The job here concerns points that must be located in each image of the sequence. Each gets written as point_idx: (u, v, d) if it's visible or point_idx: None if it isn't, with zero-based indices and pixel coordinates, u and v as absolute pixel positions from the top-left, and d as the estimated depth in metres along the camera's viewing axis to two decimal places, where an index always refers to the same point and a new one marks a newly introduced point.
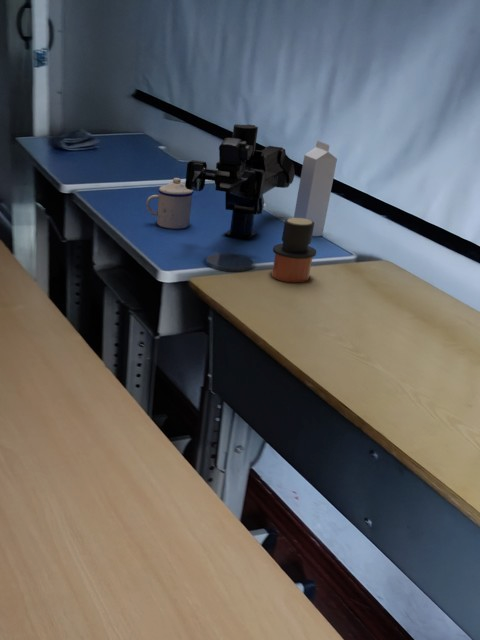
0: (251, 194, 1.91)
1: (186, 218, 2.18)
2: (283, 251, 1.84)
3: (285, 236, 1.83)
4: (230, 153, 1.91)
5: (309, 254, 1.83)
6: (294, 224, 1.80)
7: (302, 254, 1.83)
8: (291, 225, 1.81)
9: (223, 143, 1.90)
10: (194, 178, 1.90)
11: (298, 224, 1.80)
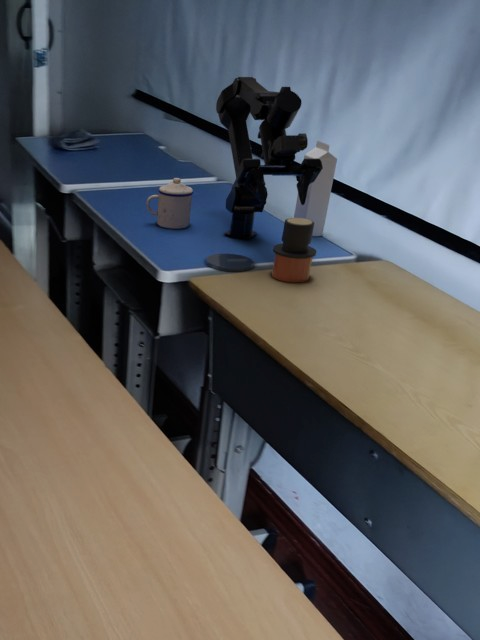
0: (308, 183, 1.91)
1: (186, 217, 2.18)
2: (283, 251, 1.84)
3: (285, 236, 1.83)
4: (288, 151, 1.84)
5: (309, 254, 1.83)
6: (294, 224, 1.80)
7: (302, 254, 1.83)
8: (291, 225, 1.81)
9: (284, 148, 1.81)
10: (264, 195, 1.86)
11: (298, 224, 1.80)
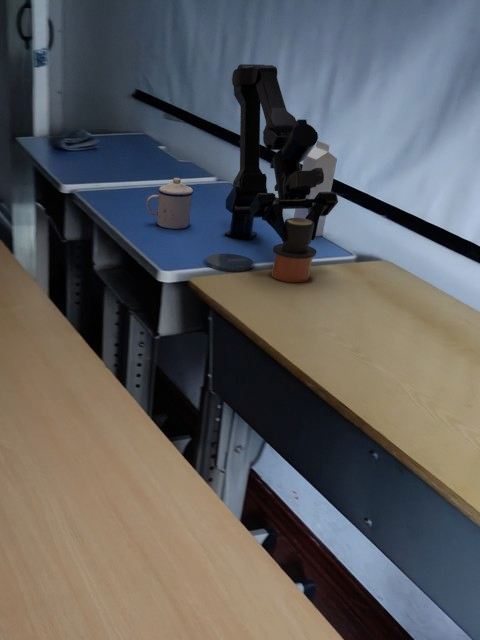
0: None
1: (186, 218, 2.18)
2: (283, 251, 1.84)
3: None
4: (304, 186, 1.79)
5: (309, 254, 1.83)
6: (294, 224, 1.80)
7: (302, 254, 1.83)
8: (291, 225, 1.81)
9: (301, 183, 1.77)
10: (284, 231, 1.82)
11: (298, 224, 1.80)
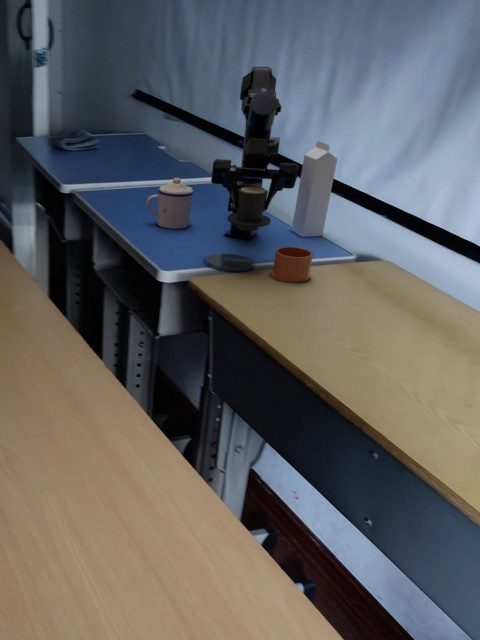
0: (281, 188, 1.87)
1: (186, 218, 2.18)
2: (234, 218, 1.87)
3: (237, 203, 1.85)
4: (259, 155, 1.81)
5: (257, 223, 1.84)
6: (243, 192, 1.82)
7: (250, 223, 1.84)
8: (241, 192, 1.83)
9: (251, 151, 1.79)
10: (235, 198, 1.84)
11: (247, 192, 1.82)
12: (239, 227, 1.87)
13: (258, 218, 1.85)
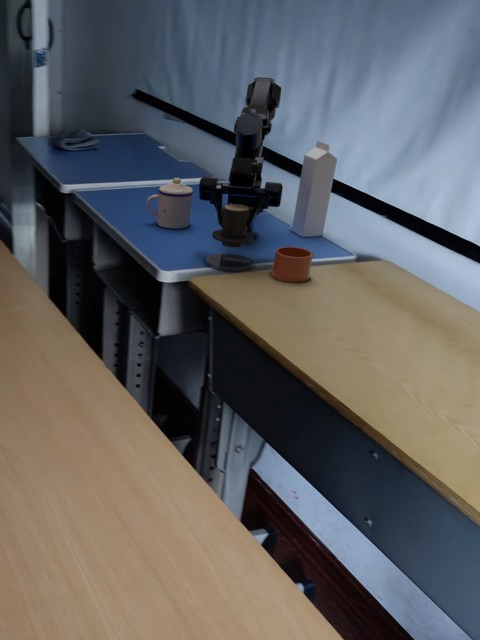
0: (266, 206, 1.91)
1: (186, 218, 2.18)
2: (218, 234, 1.91)
3: (221, 220, 1.90)
4: (243, 173, 1.85)
5: (239, 240, 1.88)
6: (226, 209, 1.87)
7: (232, 239, 1.89)
8: (224, 209, 1.87)
9: (234, 170, 1.83)
10: (219, 215, 1.89)
11: (230, 209, 1.87)
12: (223, 243, 1.92)
13: (241, 235, 1.89)
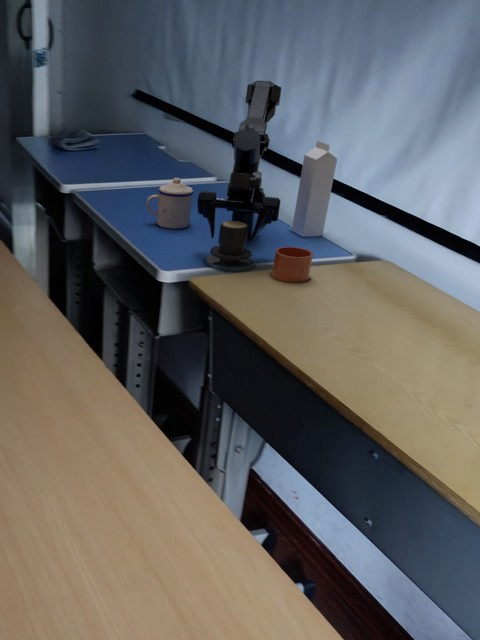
0: (269, 221, 1.92)
1: (186, 218, 2.18)
2: (216, 251, 1.93)
3: (219, 236, 1.92)
4: (241, 188, 1.87)
5: (237, 256, 1.90)
6: (224, 226, 1.89)
7: (230, 256, 1.91)
8: (222, 226, 1.90)
9: (233, 185, 1.85)
10: (212, 228, 1.91)
11: (227, 226, 1.89)
12: (221, 259, 1.94)
13: (238, 251, 1.91)
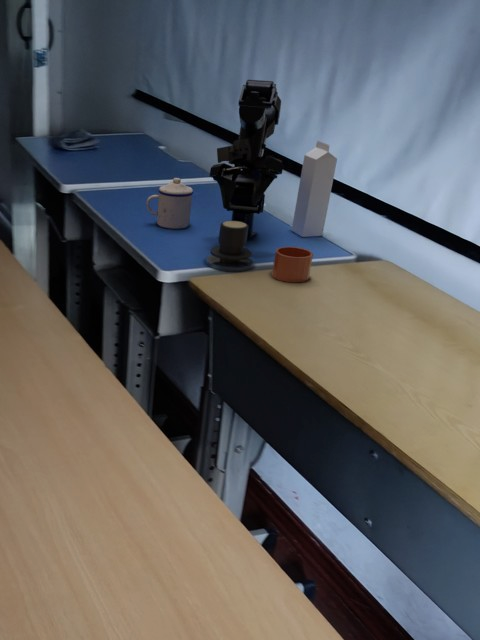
0: (273, 177, 1.92)
1: (186, 218, 2.18)
2: (216, 251, 1.93)
3: (219, 236, 1.92)
4: None
5: (237, 256, 1.90)
6: (224, 226, 1.89)
7: (230, 256, 1.91)
8: (222, 226, 1.90)
9: (218, 160, 1.93)
10: (223, 200, 2.01)
11: (227, 226, 1.89)
12: (221, 259, 1.94)
13: (238, 251, 1.91)
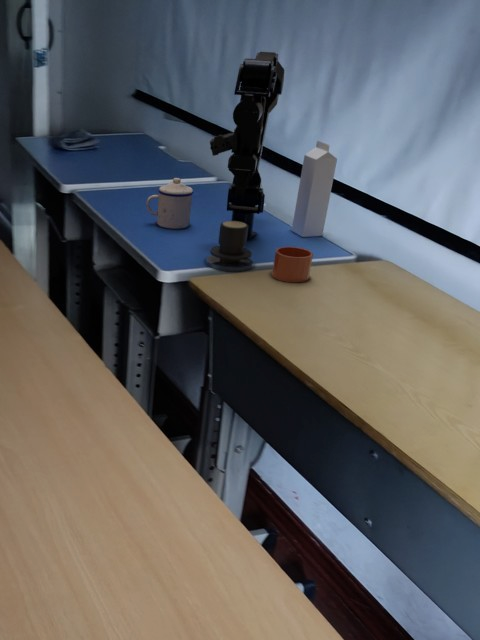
0: (249, 172, 1.87)
1: (186, 218, 2.18)
2: (216, 251, 1.93)
3: (219, 236, 1.92)
4: None
5: (237, 256, 1.90)
6: (224, 226, 1.89)
7: (230, 256, 1.91)
8: (222, 226, 1.90)
9: None
10: None
11: (227, 226, 1.89)
12: (221, 259, 1.94)
13: (238, 251, 1.91)
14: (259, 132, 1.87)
